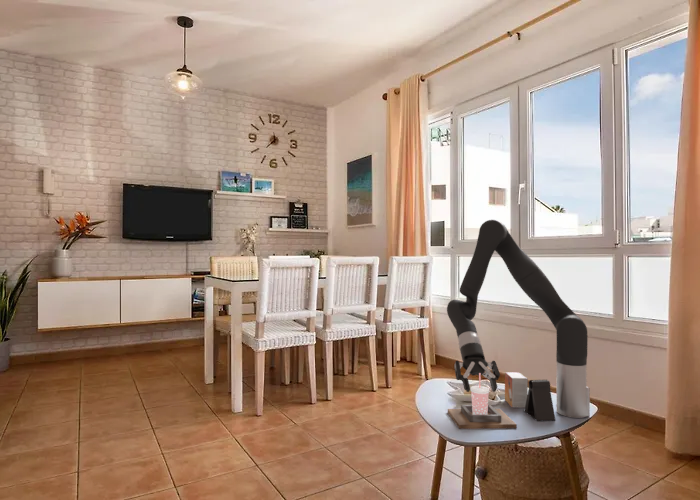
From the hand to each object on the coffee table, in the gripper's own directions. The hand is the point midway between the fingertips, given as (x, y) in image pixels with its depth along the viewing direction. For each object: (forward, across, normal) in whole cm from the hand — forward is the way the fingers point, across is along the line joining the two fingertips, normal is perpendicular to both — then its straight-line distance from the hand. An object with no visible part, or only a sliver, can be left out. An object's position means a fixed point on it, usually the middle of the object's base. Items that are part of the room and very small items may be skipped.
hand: (481, 390), depth 141 cm
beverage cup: (+5, 0, +7) cm, 9 cm away
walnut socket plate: (+6, 0, +8) cm, 10 cm away
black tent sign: (+4, +21, +10) cm, 24 cm away
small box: (-4, +18, +19) cm, 26 cm away
